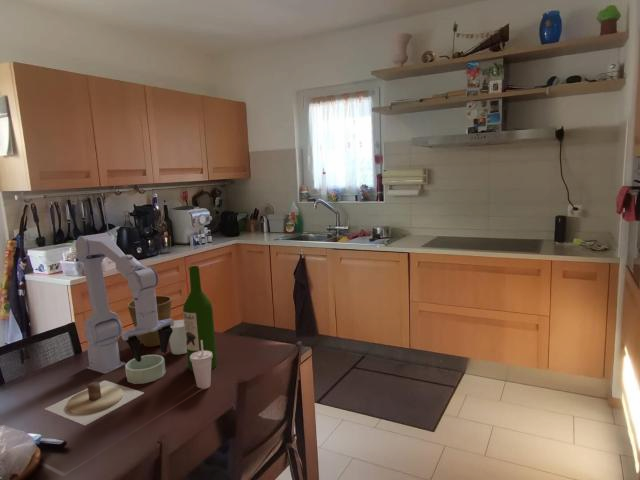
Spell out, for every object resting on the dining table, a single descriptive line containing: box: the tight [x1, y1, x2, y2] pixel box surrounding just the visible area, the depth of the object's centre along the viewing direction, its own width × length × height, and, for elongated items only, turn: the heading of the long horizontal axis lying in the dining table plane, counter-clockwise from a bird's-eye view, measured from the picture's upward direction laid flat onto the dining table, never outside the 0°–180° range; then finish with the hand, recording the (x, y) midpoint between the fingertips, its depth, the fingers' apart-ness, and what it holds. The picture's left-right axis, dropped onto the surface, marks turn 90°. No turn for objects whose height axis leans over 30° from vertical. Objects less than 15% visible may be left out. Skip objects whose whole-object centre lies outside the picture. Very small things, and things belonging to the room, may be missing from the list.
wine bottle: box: [182, 265, 218, 372], centre depth 143 cm, size 9×9×32 cm
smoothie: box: [190, 340, 213, 390], centre depth 131 cm, size 6×6×14 cm
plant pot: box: [127, 295, 172, 348], centre depth 165 cm, size 15×15×16 cm
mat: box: [44, 379, 145, 426], centre depth 125 cm, size 18×18×1 cm
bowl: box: [124, 354, 166, 385], centre depth 139 cm, size 11×11×5 cm
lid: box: [66, 381, 123, 415], centre depth 125 cm, size 14×14×5 cm
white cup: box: [168, 319, 187, 355], centre depth 158 cm, size 8×8×10 cm
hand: (151, 356), depth 130 cm, fingers open, 7 cm apart
